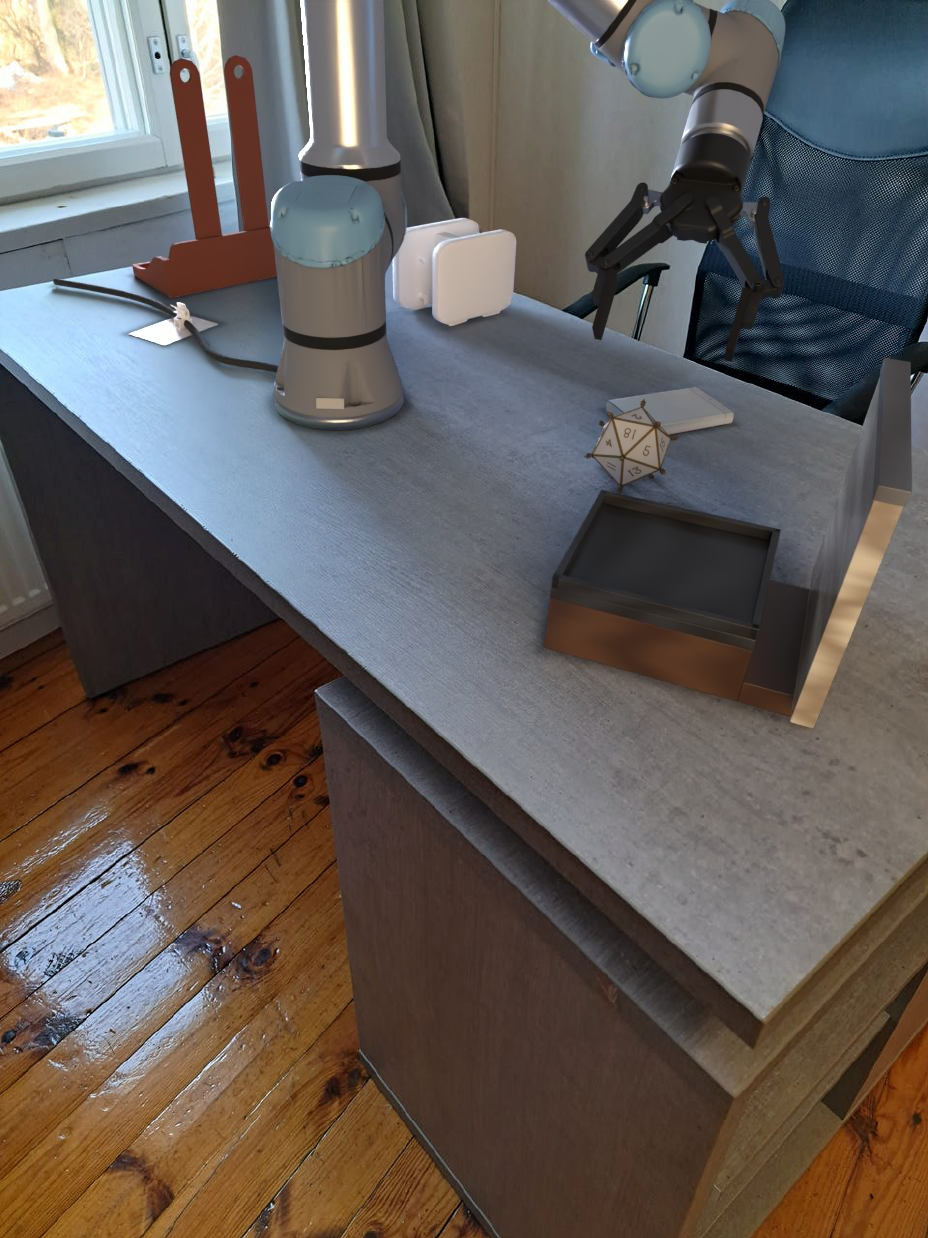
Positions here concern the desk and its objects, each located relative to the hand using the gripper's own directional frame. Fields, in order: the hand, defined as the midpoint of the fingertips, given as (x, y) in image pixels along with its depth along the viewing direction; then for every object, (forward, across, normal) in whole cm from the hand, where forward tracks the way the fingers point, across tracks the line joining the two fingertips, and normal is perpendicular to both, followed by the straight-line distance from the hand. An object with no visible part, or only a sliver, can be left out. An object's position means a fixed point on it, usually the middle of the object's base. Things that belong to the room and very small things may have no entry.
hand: (661, 344), depth 88 cm
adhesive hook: (+3, +68, -14) cm, 70 cm away
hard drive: (+2, -1, -16) cm, 16 cm away
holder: (+29, -10, +12) cm, 33 cm away
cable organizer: (-14, +36, -31) cm, 50 cm away
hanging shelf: (-14, +76, -31) cm, 84 cm away
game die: (+14, 0, -3) cm, 14 cm away
